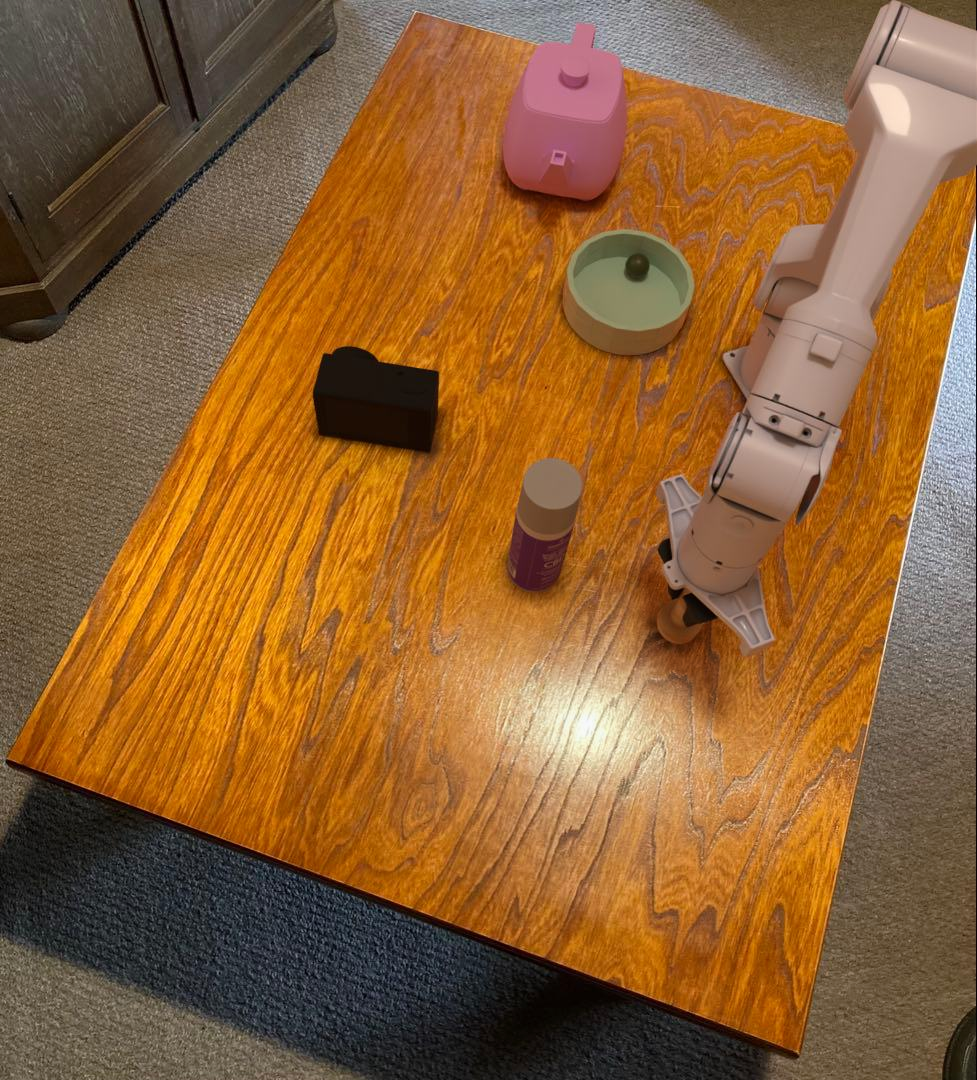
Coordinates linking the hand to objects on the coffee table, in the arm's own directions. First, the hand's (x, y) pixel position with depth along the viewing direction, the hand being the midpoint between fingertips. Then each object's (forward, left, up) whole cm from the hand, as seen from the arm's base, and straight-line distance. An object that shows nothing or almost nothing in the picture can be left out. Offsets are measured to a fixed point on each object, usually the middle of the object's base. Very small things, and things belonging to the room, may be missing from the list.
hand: (688, 605), depth 87 cm
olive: (-13, -35, -3) cm, 38 cm away
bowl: (-11, -32, -5) cm, 35 cm away
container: (+9, -9, -5) cm, 14 cm away
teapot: (-13, -51, -5) cm, 53 cm away
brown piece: (0, 0, -4) cm, 4 cm away
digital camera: (+16, -28, -5) cm, 33 cm away
